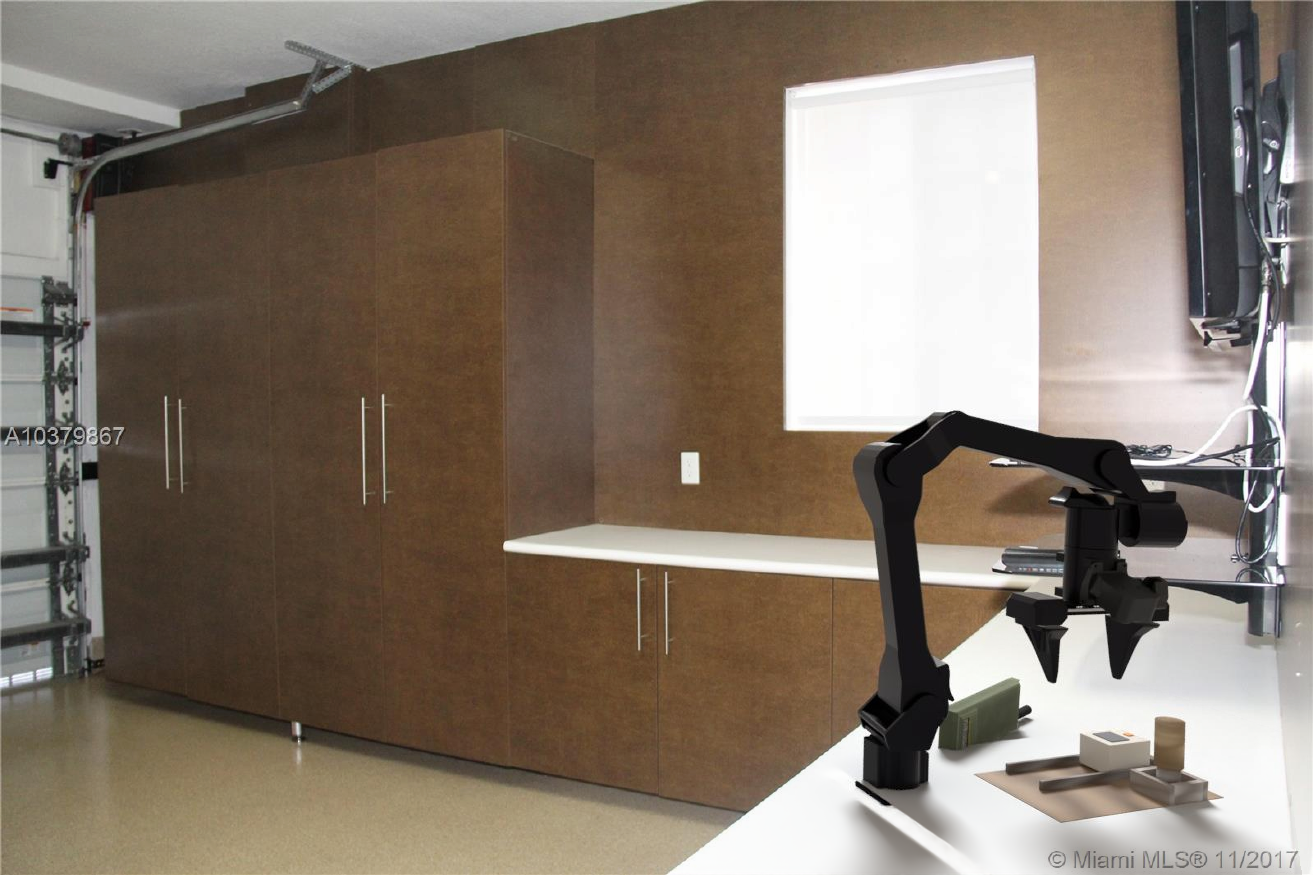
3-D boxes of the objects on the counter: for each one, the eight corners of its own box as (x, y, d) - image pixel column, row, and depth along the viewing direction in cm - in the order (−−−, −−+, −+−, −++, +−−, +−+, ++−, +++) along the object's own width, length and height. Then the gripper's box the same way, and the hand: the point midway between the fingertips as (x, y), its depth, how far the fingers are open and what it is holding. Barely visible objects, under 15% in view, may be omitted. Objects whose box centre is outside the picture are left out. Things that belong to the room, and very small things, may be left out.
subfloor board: (1060, 836, 101) (1061, 802, 101) (973, 786, 114) (974, 756, 114) (1223, 810, 109) (1224, 779, 109) (1123, 766, 122) (1124, 738, 122)
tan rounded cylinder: (1168, 799, 107) (1170, 726, 107) (1146, 789, 110) (1148, 717, 110) (1189, 796, 108) (1191, 723, 108) (1167, 786, 111) (1169, 715, 111)
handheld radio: (932, 758, 124) (1015, 715, 143) (957, 766, 122) (1038, 721, 140) (935, 706, 124) (1018, 669, 142) (960, 713, 122) (1041, 674, 140)
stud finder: (1108, 775, 114) (1109, 744, 114) (1079, 762, 118) (1080, 732, 118) (1149, 770, 116) (1150, 739, 116) (1119, 757, 120) (1119, 727, 120)
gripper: (1073, 558, 105) (1066, 705, 105) (1212, 556, 110) (1205, 696, 111) (1005, 543, 115) (999, 677, 116) (1135, 542, 121) (1129, 670, 121)
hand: (1084, 680), depth 115 cm, fingers open, 9 cm apart
